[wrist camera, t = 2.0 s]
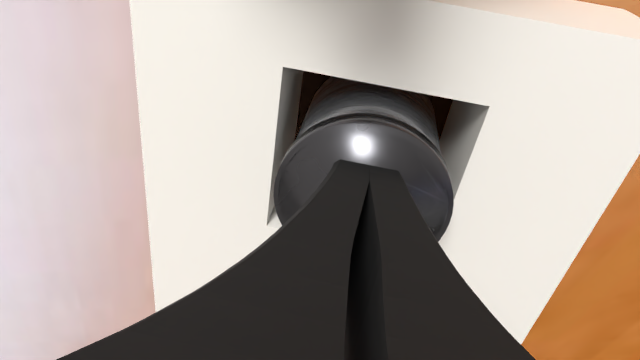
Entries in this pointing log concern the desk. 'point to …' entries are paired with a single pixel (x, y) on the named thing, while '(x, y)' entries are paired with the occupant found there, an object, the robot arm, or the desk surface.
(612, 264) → the desk surface
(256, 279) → the robot arm
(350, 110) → the graphite plug
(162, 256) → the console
